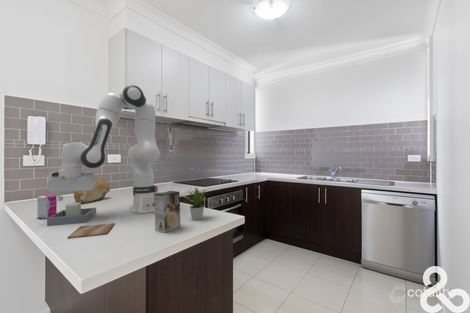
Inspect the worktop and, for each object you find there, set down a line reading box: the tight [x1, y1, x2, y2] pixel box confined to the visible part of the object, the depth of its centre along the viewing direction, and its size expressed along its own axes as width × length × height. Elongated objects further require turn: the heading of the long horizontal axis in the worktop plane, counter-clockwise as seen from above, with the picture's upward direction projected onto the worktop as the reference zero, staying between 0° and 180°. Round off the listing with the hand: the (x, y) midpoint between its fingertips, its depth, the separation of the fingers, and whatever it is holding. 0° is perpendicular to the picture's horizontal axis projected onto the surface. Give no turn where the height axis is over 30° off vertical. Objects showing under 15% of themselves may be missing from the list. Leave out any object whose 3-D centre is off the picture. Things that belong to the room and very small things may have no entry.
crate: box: [46, 207, 97, 227], centre depth 114 cm, size 16×16×4 cm
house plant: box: [181, 187, 210, 221], centre depth 114 cm, size 14×14×16 cm
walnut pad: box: [67, 222, 116, 239], centre depth 97 cm, size 14×14×1 cm
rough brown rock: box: [73, 178, 111, 204], centre depth 161 cm, size 23×17×15 cm
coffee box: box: [154, 190, 181, 234], centre depth 98 cm, size 9×6×16 cm
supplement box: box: [36, 194, 58, 220], centre depth 118 cm, size 6×6×12 cm
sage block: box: [65, 202, 82, 216], centre depth 114 cm, size 5×5×8 cm
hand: (71, 200), depth 114 cm, fingers open, 8 cm apart
